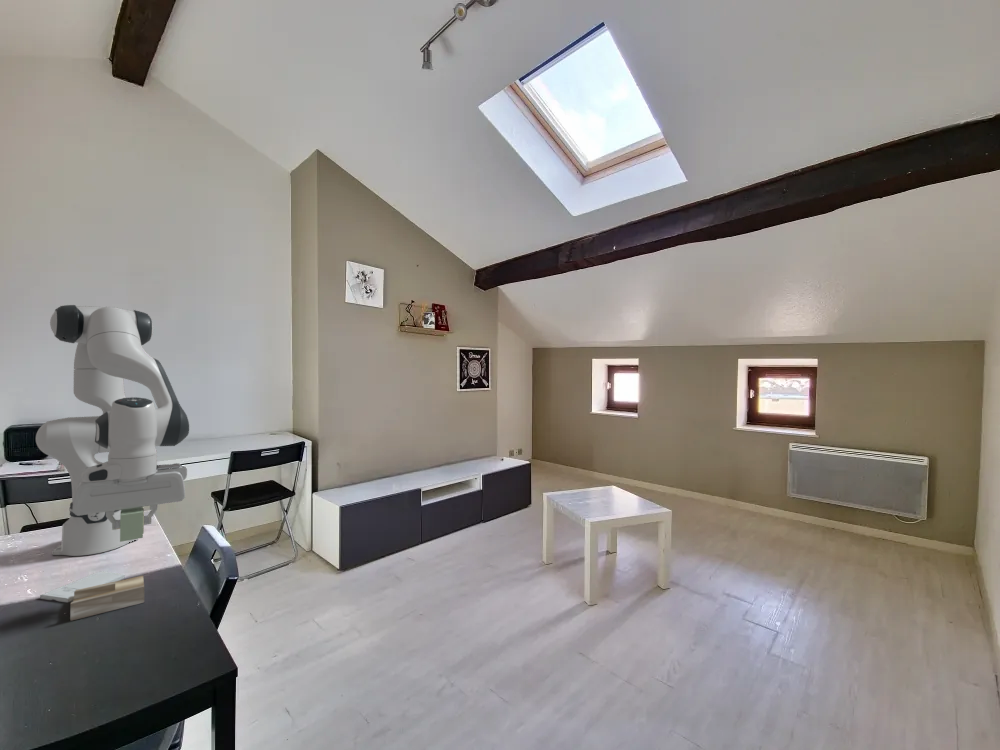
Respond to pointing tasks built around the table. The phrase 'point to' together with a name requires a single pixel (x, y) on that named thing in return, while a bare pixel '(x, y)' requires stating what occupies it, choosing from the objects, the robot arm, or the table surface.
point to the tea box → (131, 523)
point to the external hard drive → (81, 586)
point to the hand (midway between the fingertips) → (132, 526)
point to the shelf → (107, 597)
